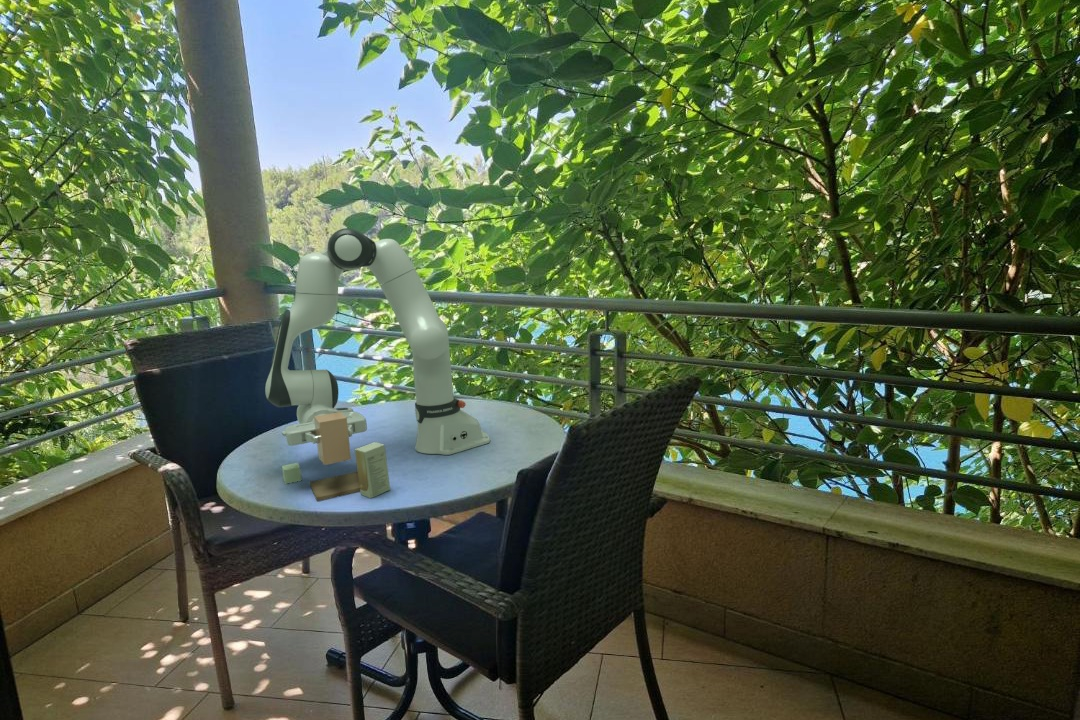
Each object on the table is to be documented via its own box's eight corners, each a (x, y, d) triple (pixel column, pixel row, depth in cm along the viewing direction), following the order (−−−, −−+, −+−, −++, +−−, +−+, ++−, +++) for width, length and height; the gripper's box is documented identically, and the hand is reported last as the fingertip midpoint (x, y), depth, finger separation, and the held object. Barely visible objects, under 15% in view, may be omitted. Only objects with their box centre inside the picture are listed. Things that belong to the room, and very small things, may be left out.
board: (360, 474, 169) (359, 470, 169) (370, 489, 159) (370, 485, 158) (310, 485, 163) (309, 481, 163) (317, 501, 153) (316, 497, 152)
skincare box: (380, 486, 160) (375, 441, 157) (391, 490, 157) (386, 444, 155) (359, 495, 155) (353, 448, 153) (369, 499, 152) (364, 451, 150)
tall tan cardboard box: (344, 452, 164) (340, 412, 161) (351, 459, 158) (346, 417, 156) (318, 457, 160) (313, 416, 158) (324, 465, 155) (319, 422, 153)
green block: (299, 476, 170) (297, 462, 170) (301, 480, 167) (299, 466, 166) (283, 479, 168) (281, 466, 168) (286, 484, 165) (284, 470, 164)
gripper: (279, 420, 163) (287, 433, 152) (357, 406, 173) (371, 417, 162) (281, 442, 164) (291, 457, 153) (359, 428, 175) (373, 440, 163)
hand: (333, 437), depth 157 cm, fingers closed on tall tan cardboard box, 7 cm apart
